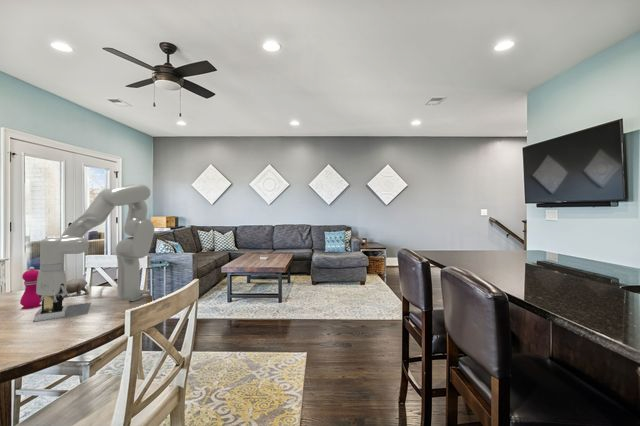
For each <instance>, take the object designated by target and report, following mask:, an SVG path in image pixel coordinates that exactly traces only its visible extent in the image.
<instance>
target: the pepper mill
mask: <svg viewBox="0 0 640 426" xmlns="http://www.w3.org/2000/svg"><path fill="white" fill-rule="evenodd" d="M39 271H40V270H36V269H35V267H34V266H30V267H29V268H28V270H27V271H26V270H25V272H23V274H22V276H21V278H22V280H24V281H23V285H24V292H23V294H22V296H21V297H20V301H19V304H20V305H21V306H22V307H21V310H29V309H31V310H32V309H36V308H39V307H42V301H41V298H40V297H39V295H38V294H37V293H36V285H37V277H38V273H39Z"/></svg>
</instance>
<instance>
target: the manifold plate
mask: <svg viewBox="0 0 640 426" xmlns="http://www.w3.org/2000/svg"><path fill="white" fill-rule="evenodd" d="M91 305H92V302H85V303H77V304H69V305H68V304H66V305H62V310H60V311H56V312H49V313H44V311H42V308H39V310H37V312H36V313H35V314H34V320H33V321H32V323H38V322H43V321H51V320H57V319H64V318H70V317H77V316H83V315H88V313H89V311H90V307H91Z"/></svg>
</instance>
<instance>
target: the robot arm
mask: <svg viewBox="0 0 640 426" xmlns="http://www.w3.org/2000/svg"><path fill="white" fill-rule="evenodd" d="M150 196H151V189H150V188H149V186H147V185H146V184H140V183H138V184H128V185H123V186H122V187H117V188H104V189H103V190H100V192H99V193H98V194H97V195H96V196H95V198H94V200H93V201H92V202H91V204H90V205H89V206H88V207H87V209H86V210H85V212H83V214H82V215H80V216H79V217H78V218H77V219H75V220H74V221H73V222H72V223H70V225H68V226H67V228H66V229H65V230H64V232H63V233H61V235H60V237H51V238H44V239H42V240H41V241H40V245H39V270H38V271H39V273H38V277H37V285H36V293H37V294H38V295H39V297H40V298H41V309H42V311H44V296H53V297H54V301H55V302H53V312H56V311H60V310H62V306H63V301H64V300H65V299H66V298H65V297H66V296H67V295H68V296H69V294H68V292H67V291H66V281H67V277H66V271H65V260H66V259H65V255H79V254H83V253H85V252H87V250H89V248H90V242H89V241H88V240H87V238H84V236H85V235H86V234H87V233H88V232H90V231H91V230H92V229H93V228H95V227H98V226H100V225H102V224H103V223H105V222H106V220H107V219H108V217H109V215H110V214H111V213H112V211H113V210H114V209H115V207H122V206H123V207H124V206H126V205H127V206H128V211H127V217H126V219H125V223H124V227H123V231H124V233H125V234H126V235H127V236H130V237H133V238H124V239H121V240H119V241H118V243H117V244H116V246H115V254H116V260H117V284H116V286H117V287H116V288H117V293H116V294H117V296H116V298H117V299H118V300H128V302H129V303H131V302H130V301H132V302H136V301H139V300H141V299H142V298H144V297H143V295H147V294H150V289H141V287H140V275H141V274H140V270H141V269H140V267H141V265H140V259H142V258H145V257H146V256H147V255H148V254H149V252H150V250H151V247H152V243H153V238H154V235H155V226H154V223H153V222H152V221H151V220H150V219H147V214H148V205H147V202H146V201H147V200H148V199H149V198H150ZM58 293H59V294H58ZM58 295H59V297H58V298H57V296H58Z"/></svg>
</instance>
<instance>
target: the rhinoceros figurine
mask: <svg viewBox="0 0 640 426" xmlns="http://www.w3.org/2000/svg"><path fill="white" fill-rule="evenodd" d="M87 285H88V282H87V281H86V279H84V278H72V279H70V280H66V291H67V292H68V295H67V296H66V297H65V298H64V299H67V298H69V295H70V294H75V296H74V297H75V298H76V297H79V295H80V294H81V293H82V292H84V296H85V295H89V290H88V289H87V288H86V286H87Z"/></svg>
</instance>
